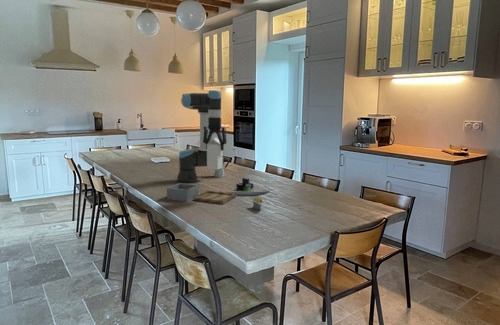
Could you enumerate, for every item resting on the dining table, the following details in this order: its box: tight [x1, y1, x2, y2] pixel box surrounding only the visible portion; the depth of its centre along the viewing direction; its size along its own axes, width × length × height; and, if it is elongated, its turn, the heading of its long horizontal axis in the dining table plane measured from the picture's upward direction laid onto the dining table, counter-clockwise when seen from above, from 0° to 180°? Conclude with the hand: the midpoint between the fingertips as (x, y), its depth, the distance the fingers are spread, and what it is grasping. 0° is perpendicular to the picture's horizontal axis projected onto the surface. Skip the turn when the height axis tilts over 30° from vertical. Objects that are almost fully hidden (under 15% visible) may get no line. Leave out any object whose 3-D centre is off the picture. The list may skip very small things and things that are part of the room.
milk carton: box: [206, 136, 223, 170], centre depth 214 cm, size 7×7×19 cm
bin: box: [166, 182, 200, 202], centre depth 219 cm, size 14×14×7 cm
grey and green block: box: [250, 196, 265, 212], centre depth 199 cm, size 12×18×7 cm, turn 30°
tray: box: [193, 190, 237, 205], centre depth 218 cm, size 20×18×2 cm
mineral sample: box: [219, 177, 269, 197], centre depth 242 cm, size 35×35×9 cm
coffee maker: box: [213, 157, 230, 178], centre depth 281 cm, size 15×9×18 cm, turn 68°
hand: (214, 155), depth 214 cm, fingers closed on milk carton, 7 cm apart
